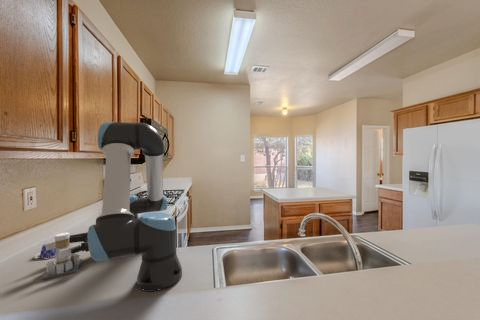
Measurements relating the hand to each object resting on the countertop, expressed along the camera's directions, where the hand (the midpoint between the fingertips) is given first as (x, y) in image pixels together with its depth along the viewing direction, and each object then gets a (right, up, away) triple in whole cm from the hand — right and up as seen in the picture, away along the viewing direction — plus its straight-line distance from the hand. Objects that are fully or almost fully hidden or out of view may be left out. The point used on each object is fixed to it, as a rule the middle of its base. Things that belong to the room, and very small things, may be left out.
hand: (52, 250), depth 81 cm
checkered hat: (-16, -10, +18) cm, 26 cm away
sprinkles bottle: (+2, -8, +3) cm, 9 cm away
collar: (+2, -9, +3) cm, 10 cm away
